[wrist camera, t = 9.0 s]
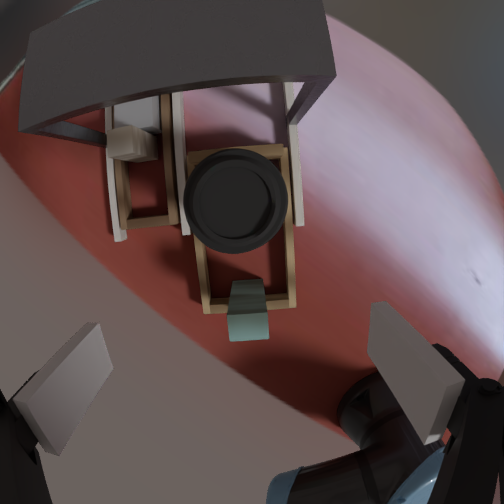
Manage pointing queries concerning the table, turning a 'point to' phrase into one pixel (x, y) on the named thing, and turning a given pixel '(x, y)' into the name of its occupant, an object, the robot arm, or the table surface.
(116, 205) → the lane rails
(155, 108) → the grey block
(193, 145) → the table surface
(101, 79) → the shelf
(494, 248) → the table surface
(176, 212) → the sled
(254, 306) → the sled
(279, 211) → the coffee cup
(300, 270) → the table surface
